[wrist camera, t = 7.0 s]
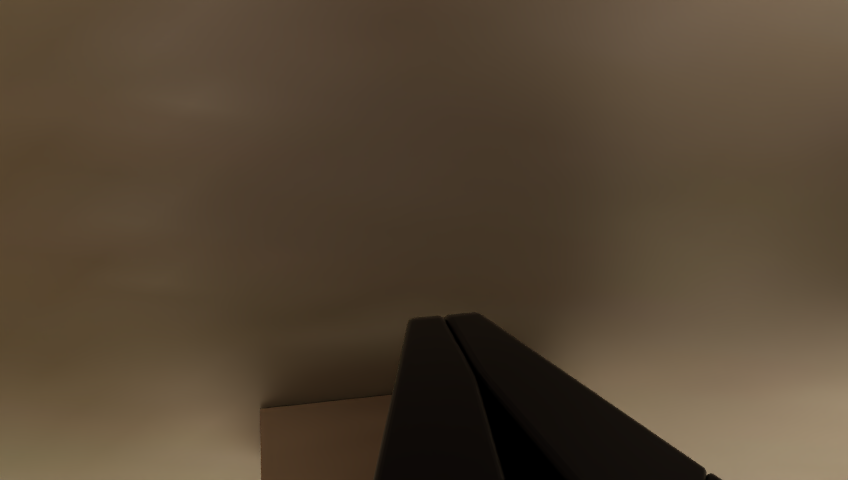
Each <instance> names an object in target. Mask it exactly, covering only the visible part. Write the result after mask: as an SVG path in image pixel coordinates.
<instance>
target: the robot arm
mask: <svg viewBox="0 0 848 480" xmlns="http://www.w3.org/2000/svg"><path fill="white" fill-rule="evenodd" d="M373 480H722V479H720V478H719V477H717V476H716V475H714V474H712V473H710V474H708V475H707V476H706V470H705V468H704V467H702V466H701V465H699V464H698V463H696V462H695V461H693V460H692V459H691V458H689V457H688V456H686V455H685V454H683V453H682V452H680V451H679V450H677V449H676V448H675V447H673V446H672V445H670V444H669V443H667V442H666V441H664V440H663V439H661V438H660V437H659V436H657V435H656V434H654V433H653V432H651V431H650V430H648V429H647V428H645V427H644V426H643V425H641V424H640V423H638V422H637V421H635V420H634V419H632V418H631V417H629V416H628V415H627V414H625V413H624V412H622V411H621V410H619V409H618V408H616V407H615V406H613V405H612V404H611V403H609V402H608V401H606V400H605V399H603V398H602V397H600V396H599V395H597V394H596V393H595V392H593V391H592V390H590V389H589V388H587V387H586V386H584V385H583V384H581V383H580V382H579V381H577V380H576V379H574V378H573V377H571V376H570V375H568V374H567V373H565V372H564V371H563V370H561V369H560V368H558V367H557V366H555V365H554V364H552V363H551V362H549V361H548V360H547V359H545V358H544V357H542V356H541V355H539V354H538V353H536V352H535V351H533V350H532V349H531V348H529V347H528V346H526V345H525V344H523V343H522V342H520V341H519V340H517V339H516V338H515V337H513V336H512V335H510V334H509V333H507V332H506V331H504V330H503V329H501V328H500V327H499V326H497V325H496V324H494V323H493V322H491V321H490V320H488V319H487V318H485V317H484V316H483V315H481V314H479V313H476V312H472V313H462V314H451V315H447V316H446V317H445V318H443V317H441V316H429V317H418V318H412V319H410V320H409V321H408V324H407V329H406V333H405V338H404V342H403V347H402V351H401V356H400V360H399V365H398V369H397V374H396V379H395V383H394V388H393V392H392V397H391V401H390V406H389V410H388V415H387V419H386V424H385V428H384V433H383V438H382V442H381V447H380V451H379V456H378V460H377V465H376V469H375V474H374V478H373Z"/></svg>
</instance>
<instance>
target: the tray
mask: <svg viewBox="0 0 848 480" xmlns="http://www.w3.org/2000/svg"><path fill="white" fill-rule="evenodd" d="M391 397H392V395H384V396H375V397H365V398H356V399H347V400H338V401H328V402H319V403H310V404H301V405H292V406H282V407H273V408H264V409H260V429H261V480H373V478H374V474H375V469H376V465H377V460H378V456H379V451H380V447H381V442H382V438H383V433H384V428H385V424H386V419H387V415H388V410H389V406H390V401H391Z"/></svg>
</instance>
